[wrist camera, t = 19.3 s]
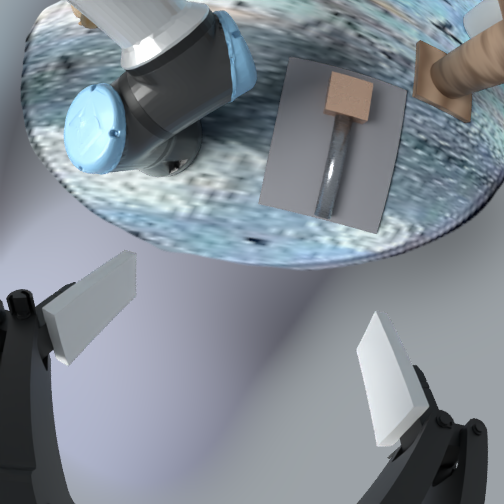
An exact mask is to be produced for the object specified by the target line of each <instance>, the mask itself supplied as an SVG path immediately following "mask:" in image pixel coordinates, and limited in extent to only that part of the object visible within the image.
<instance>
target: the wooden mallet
mask: <svg viewBox="0 0 504 504" xmlns="http://www.w3.org/2000/svg"><path fill="white" fill-rule="evenodd" d="M372 90H373V83H371V82H368V81H365V80H361V79H358V78H355V77H351V76H348V75H344V74H341V73H337V72H333V71H332V73H331V76H330V78H329V84H328V89H327V95H326V100H325V106H324V111H323V114H327V115H331V116H334V117H335V120H334V126H333V131H332V136H331V141H330V146H329V150H328V155H327V160H326V164H325V169H324V174H323V178H322V183H321V187H320V191H319V196H318V200H317V204H316V208H315V212H314V215H316V216H318V217H321V218H325V219H331V217H332V213H333V209H334V205H335V201H336V197H337V193H338V188H339V184H340V180H341V175H342V171H343V167H344V162H345V157H346V152H347V148H348V143H349V138H350V132H351V127H352V122H356V123H359V124H363V123H365V122H367V121H368V116H369V110H370V103H371V97H372Z"/></svg>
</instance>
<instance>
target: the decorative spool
mask: <svg viewBox="0 0 504 504" xmlns="http://www.w3.org/2000/svg"><path fill="white" fill-rule="evenodd" d="M71 6H72V5H71ZM72 9H73V12H74V14H75V15H76V17H78V18H80V19H81V21H80V22H79V23H78V24H79V25H83V26H84V27H85V28H89V29H95V28H98V26H96V25H95V24H94V23H93V22H92V21H91V20H89V19H88V18H87V17H86V16H85V15H83V14H82V13H81V12H80V11H79V10H77V9H76V8H75V7H74V6H72Z"/></svg>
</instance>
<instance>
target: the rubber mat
mask: <svg viewBox="0 0 504 504" xmlns="http://www.w3.org/2000/svg"><path fill="white" fill-rule="evenodd" d="M332 71H333V72H337V73H341V74H344V75H348V76H351V77H355V78H358V79H361V80H365V81H368V82H371V83H373V90H372V97H371V103H370V110H369V116H368V121H367V122H365V123H363V124H359V123H356V122H352V127H351V132H350V138H349V143H348V148H347V152H346V157H345V162H344V167H343V171H342V175H341V180H340V184H339V188H338V193H337V197H336V201H335V205H334V209H333V213H332V217H331V219H325V218H321V217H318V216H316V215H314V212H315V208H316V204H317V200H318V196H319V191H320V187H321V183H322V178H323V174H324V169H325V164H326V160H327V155H328V150H329V146H330V141H331V136H332V131H333V126H334V120H335V117H334V116H331V115H327V114H323V111H324V106H325V100H326V95H327V89H328V84H329V78H330V76H331V73H332ZM406 94H407V90H404V89H402V88H399V87H397V86H394V85H392V84H389V83H386V82H383V81H381V80H378V79H375V78H372V77H369V76H366V75H363V74H360V73H357V72H353V71H350V70H346V69H343V68H339V67H335V66H332V65H328V64H323V63H319V62H315V61H310V60H305V59H300V58H295V57H289V62H288V67H287V71H286V76H285V81H284V85H283V90H282V95H281V99H280V104H279V109H278V113H277V118H276V123H275V127H274V132H273V137H272V142H271V146H270V151H269V156H268V160H267V165H266V170H265V175H264V179H263V184H262V189H261V194H260V198H259V203H258V204H261V205H266V206H270V207H274V208H279V209H283V210H287V211H291V212H295V213H299V214H303V215H307V216H311V217H315V218H319V219H323V220H327V221H331V222H335V223H338V224H342V225H346V226H349V227H353V228H357V229H360V230H364V231H367V232H371V233H374V234H377V230H378V227H379V224H380V220H381V217H382V213H383V209H384V206H385V202H386V198H387V194H388V190H389V186H390V182H391V178H392V174H393V169H394V165H395V160H396V155H397V150H398V145H399V140H400V134H401V128H402V122H403V116H404V109H405V102H406Z"/></svg>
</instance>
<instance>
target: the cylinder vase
mask: <svg viewBox="0 0 504 504" xmlns="http://www.w3.org/2000/svg"><path fill="white" fill-rule="evenodd" d="M501 20H503V18H502V14H501V10H500V6H499V3H498V0H483V1H482V2H480V3H479V4H478V5H476V6H475V7H474V8H473V9H471V10H470V11H469V12H468V13H466V14H465V15H464V18H463V23H464V27H465V30H466V32H467V34H468V35H469V37H470V39H471V38H473V37H474V36H476V35H478V34H479V33H481V32H483V31H484V30H486V29H487V28H489V27H491V26H492V25H494V24H496V23H497V22H499V21H501Z"/></svg>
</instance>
